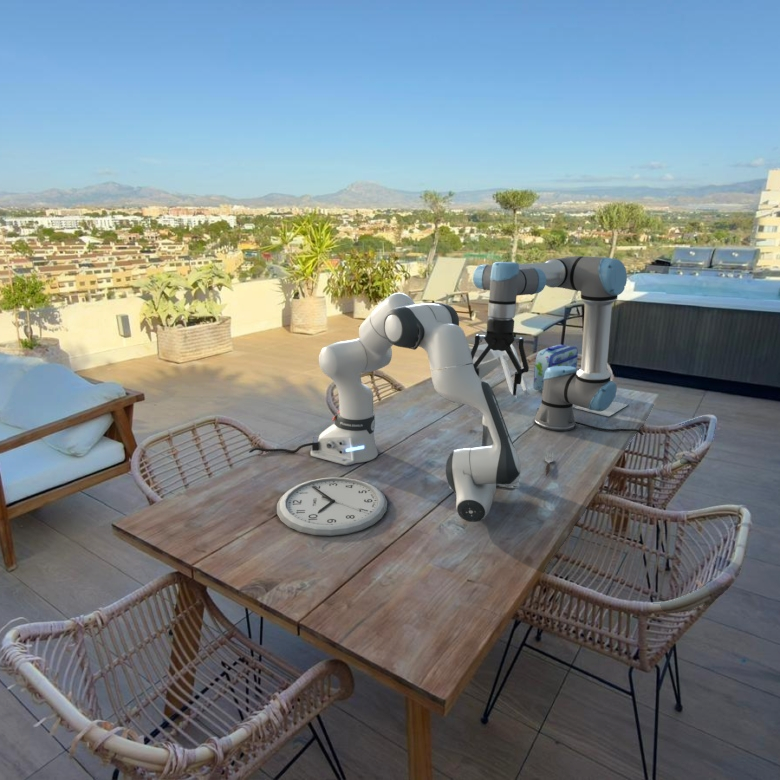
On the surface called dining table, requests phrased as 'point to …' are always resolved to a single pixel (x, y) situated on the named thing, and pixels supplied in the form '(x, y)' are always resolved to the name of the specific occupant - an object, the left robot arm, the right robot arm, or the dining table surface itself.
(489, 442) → the jar
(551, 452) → the fork
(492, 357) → the white plastic object
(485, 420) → the lid
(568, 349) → the lunch box
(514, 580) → the dining table surface
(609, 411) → the invitation card
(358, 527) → the wall clock
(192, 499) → the dining table surface
